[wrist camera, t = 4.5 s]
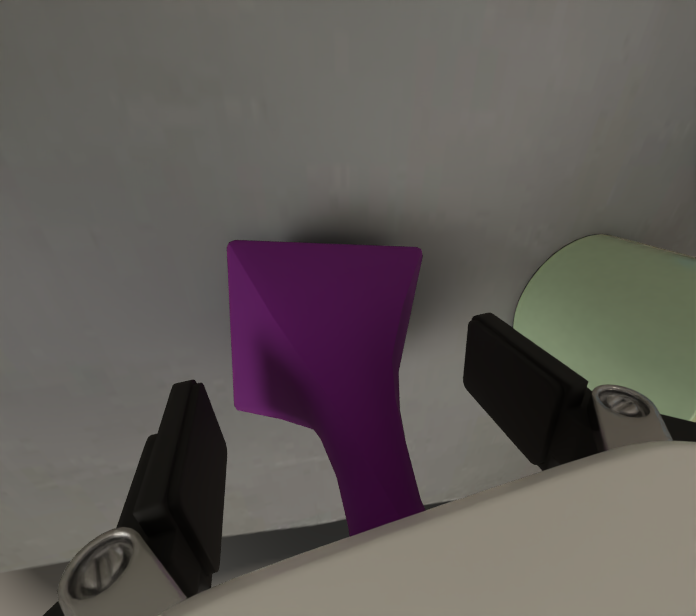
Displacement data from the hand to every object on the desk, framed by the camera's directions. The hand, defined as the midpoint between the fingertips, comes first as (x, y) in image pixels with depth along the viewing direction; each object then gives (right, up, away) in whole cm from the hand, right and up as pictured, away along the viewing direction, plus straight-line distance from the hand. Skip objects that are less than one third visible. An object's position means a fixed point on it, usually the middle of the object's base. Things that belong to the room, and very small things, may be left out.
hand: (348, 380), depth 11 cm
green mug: (+16, +3, +11) cm, 20 cm away
